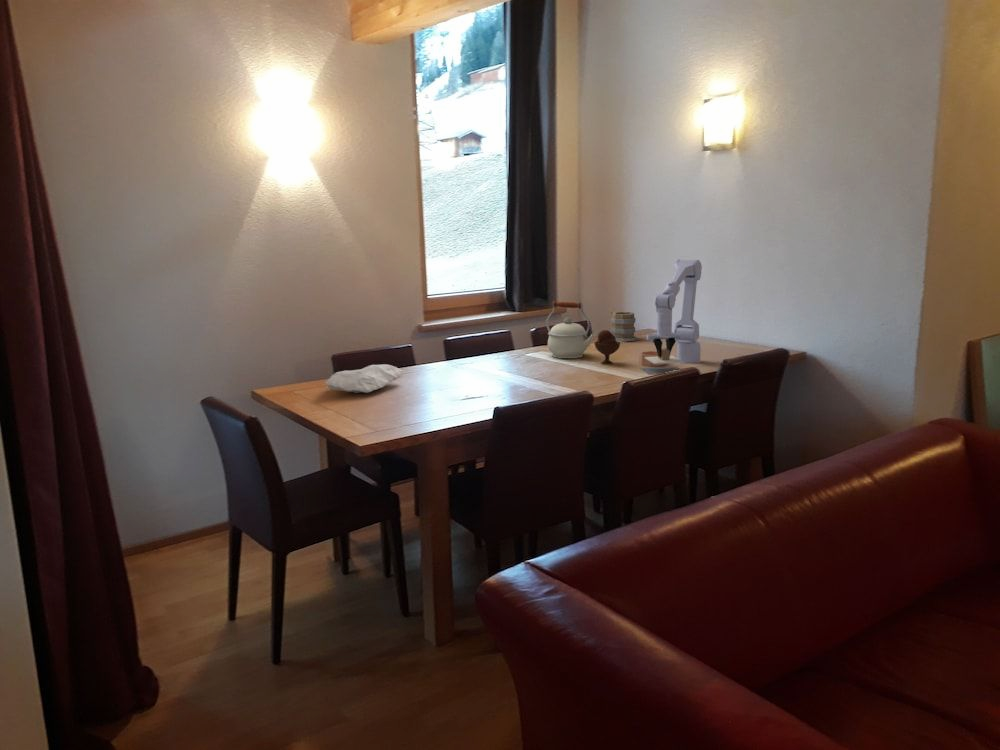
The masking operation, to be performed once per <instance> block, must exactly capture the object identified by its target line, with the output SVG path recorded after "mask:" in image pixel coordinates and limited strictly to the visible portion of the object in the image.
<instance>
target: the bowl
mask: <svg viewBox="0 0 1000 750" xmlns="http://www.w3.org/2000/svg"><path fill="white" fill-rule="evenodd" d="M655 356H658V354H657V350H648V351H647V350H646V351H645V350H644V351H641V352H638V363H639V365H640V366H644V367H661V366H664V364H654V363H652V362H650V361H648V360H647V359H645V357H655Z"/></svg>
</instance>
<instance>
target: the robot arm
mask: <svg viewBox="0 0 1000 750" xmlns="http://www.w3.org/2000/svg"><path fill="white" fill-rule="evenodd" d="M702 265H703V264H702V262H701V261H700V260H699V259H695V260H694V259H677V260H676V261H675V263H674V274H673V277H672V279H671V280H670V281H668V282H667V283H666V285H665V286H664V288H663V290H662V292H661V293H660V294H657V296H656V297H655V300H654V301H655V302H654V303H655V304H654V305H655V309H656V313H657V326H656V327H657V328H656V329H657V330H656V333H653V334H646V337H645V338H646V340H647V341H652V342H653V344H654V346H655V349H656V350H655V351H657V354H658V357H661V349H662V348H663V341H662V340H665V348H666V349H668V350H670V354H671V352H672V350H673V347H674V345H675V343H676V344H677V345H676V346H677V349H676V358H678V359H680V360H682V361H683V363H682V364H692V363H693V364H694V363H701V347H702V346H701V343H700V342H699V341H698V340H699V338H700V325H699V323H698V322H697V321H696V320H695V319H694V315H695V304H696V294H697V293H696V292H697V285H698V281H700V280H701V277H702V269H703V268H702V267H703V266H702ZM683 281H684V289H683V301H682V309H681V319H679V320H678V321H676V322H675V325H674V328H673V329H672V327H673V325H672V323H673V308H675V305H676V301H677V298H676V297H677V296H678V294H679V292H680V290H681V287H680V286H681V284H682V283H683ZM672 330H673V333H672Z"/></svg>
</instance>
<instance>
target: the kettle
mask: <svg viewBox="0 0 1000 750" xmlns="http://www.w3.org/2000/svg"><path fill="white" fill-rule="evenodd" d="M583 304H584V303H583V302H578V303H577V302H572V301H571V302H570V301H556V300H555V301H552V311H551V312H550V313H549V314H548V316H547V317H546V321H545V323H546V325H545V326H546V328H547V330H548V331H547V332H548V333H547V335H548V339H547V348H548V350H549V352H551V356H552V357H553V356H554V357H553V358H556V357H558V358H557V359H562V358H573V359H580V358H582V357H584V353H585V352H586V351H587V348H588V347H590V345H592V342H593V341H594V339H595V337H596V334H595V333H591V334H590V336H588V333H589V331H590V327H591V324H590V323H591V322H590V320H589V318H588V316H586V314H585V312H584V311H583V310H584V309H583V307H584V305H583ZM557 307H559V308H564V309H565V308H568V309H569V308H570V309H577V308H578V309H580V312H581V315H582V316H583V317H584V318H585V320H586V322H587V329H586V330H585V328H584V326H582V325H581V324H580V323H575V322H572V321H573V320H572V318H570V317H568V316H567V317H565V318H563V322H561V323H556V324H555V325H554V326H552V327H551V328H550V325H549V319H550V318H551V315H552V314H553V313H554V312H555V308H557ZM579 357H580V358H579Z"/></svg>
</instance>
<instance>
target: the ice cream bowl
mask: <svg viewBox="0 0 1000 750" xmlns="http://www.w3.org/2000/svg"><path fill="white" fill-rule="evenodd" d="M594 346H595V349H596V350H597V351H598V352H599V353H601V354H602V355H604V360H602V361H601V362H600V365H601V364H602V365H612V364H614V362H612V361H611V360H610V355H613V354H614V353H615V352H617V351H618V350H619V349H620V346H621V342H618V341H616V338H615V336H614V335H612V332H611V330H610V331H609V329H607V330H606V329H603V330H601V331H600V332H599V333H598V334H597V341H595V342H594Z"/></svg>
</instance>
